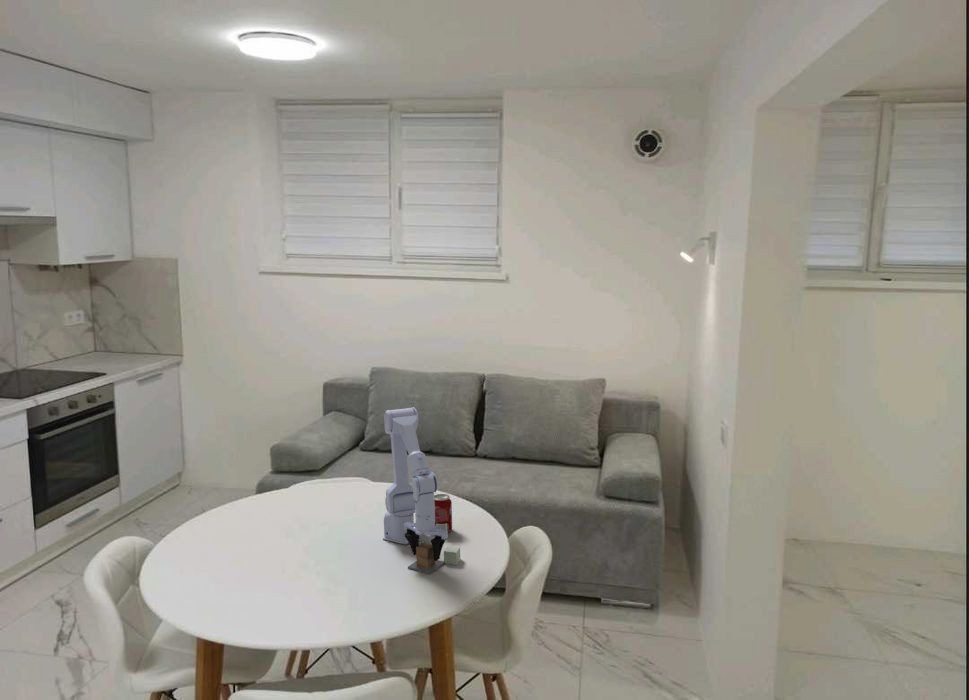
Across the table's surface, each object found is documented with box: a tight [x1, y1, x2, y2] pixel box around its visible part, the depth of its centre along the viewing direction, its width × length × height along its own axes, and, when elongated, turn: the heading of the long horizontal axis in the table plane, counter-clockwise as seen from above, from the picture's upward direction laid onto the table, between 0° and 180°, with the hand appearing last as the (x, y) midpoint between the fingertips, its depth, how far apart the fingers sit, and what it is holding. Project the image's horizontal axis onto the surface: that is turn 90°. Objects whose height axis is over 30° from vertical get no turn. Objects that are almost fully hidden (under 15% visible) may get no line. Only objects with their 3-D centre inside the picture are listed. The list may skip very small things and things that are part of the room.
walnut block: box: [415, 542, 435, 569], centre depth 222 cm, size 4×4×6 cm
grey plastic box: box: [419, 534, 435, 544], centre depth 242 cm, size 6×5×3 cm
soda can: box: [434, 493, 453, 533], centre depth 247 cm, size 7×7×12 cm
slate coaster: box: [407, 559, 445, 575], centre depth 223 cm, size 8×8×1 cm
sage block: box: [443, 545, 461, 566], centre depth 226 cm, size 4×4×4 cm
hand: (426, 556), depth 223 cm, fingers open, 7 cm apart
